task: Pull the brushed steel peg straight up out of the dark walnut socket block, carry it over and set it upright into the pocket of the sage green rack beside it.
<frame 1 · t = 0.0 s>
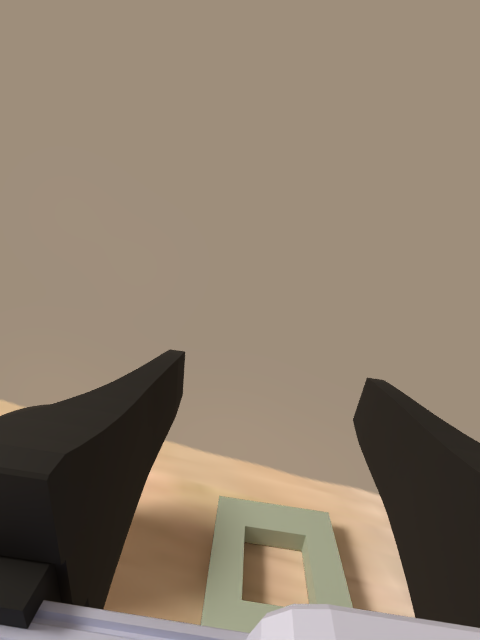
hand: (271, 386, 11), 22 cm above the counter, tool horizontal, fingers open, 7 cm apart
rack: (273, 581, 24), on the counter
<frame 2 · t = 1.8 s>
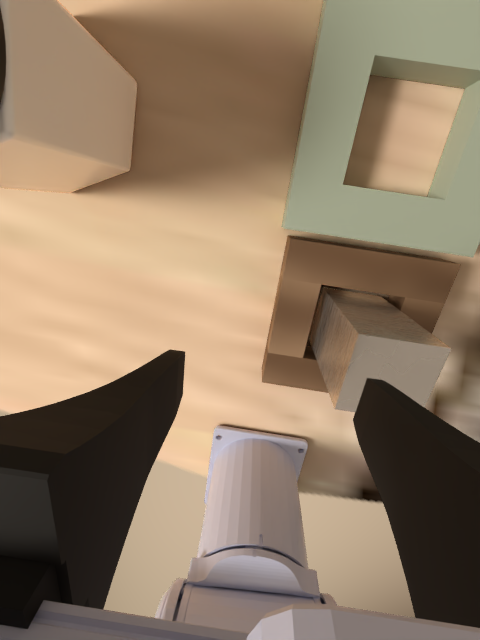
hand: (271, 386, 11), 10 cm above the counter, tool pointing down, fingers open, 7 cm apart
peg: (361, 342, 17), in the socket block
jar: (72, 114, 17), on the counter
socket block: (343, 318, 21), on the counter
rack: (395, 140, 16), on the counter
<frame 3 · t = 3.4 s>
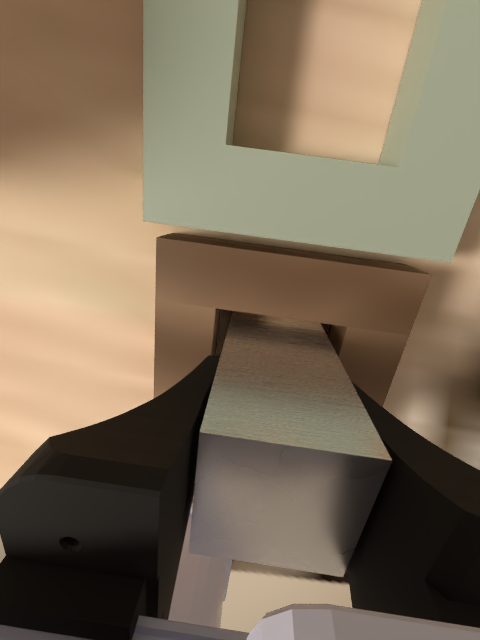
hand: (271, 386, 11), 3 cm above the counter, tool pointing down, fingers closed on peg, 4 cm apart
peg: (272, 403, 10), in the socket block, touching gripper
socket block: (269, 352, 14), on the counter
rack: (319, 75, 10), on the counter
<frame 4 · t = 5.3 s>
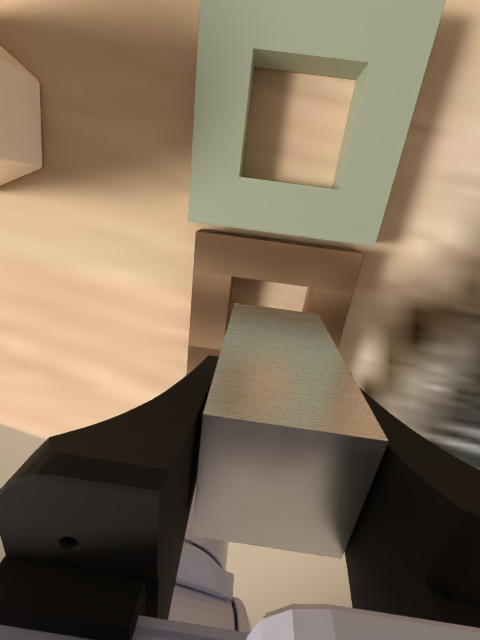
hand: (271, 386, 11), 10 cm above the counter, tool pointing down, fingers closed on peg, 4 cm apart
peg: (272, 394, 11), point 11 cm above the counter, touching gripper
socket block: (265, 310, 21), on the counter
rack: (295, 133, 17), on the counter
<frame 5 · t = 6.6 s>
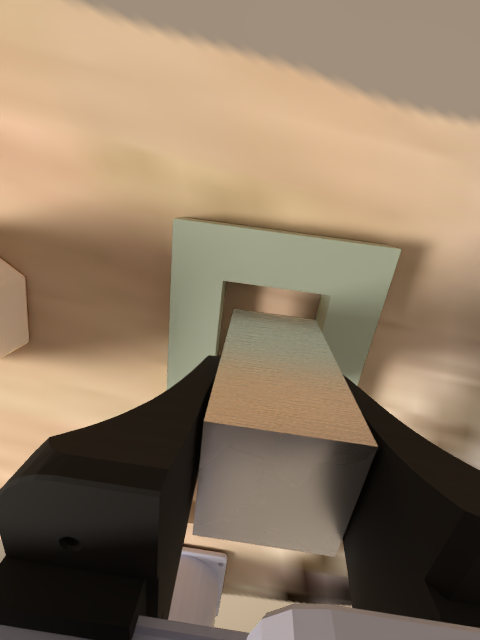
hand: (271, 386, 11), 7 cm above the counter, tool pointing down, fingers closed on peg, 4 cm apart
peg: (270, 398, 11), point 7 cm above the counter, touching gripper
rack: (267, 323, 18), on the counter
when the fingers open (4 cm above the counter, at t = 7.5 s): peg stays where it is, resting in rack.
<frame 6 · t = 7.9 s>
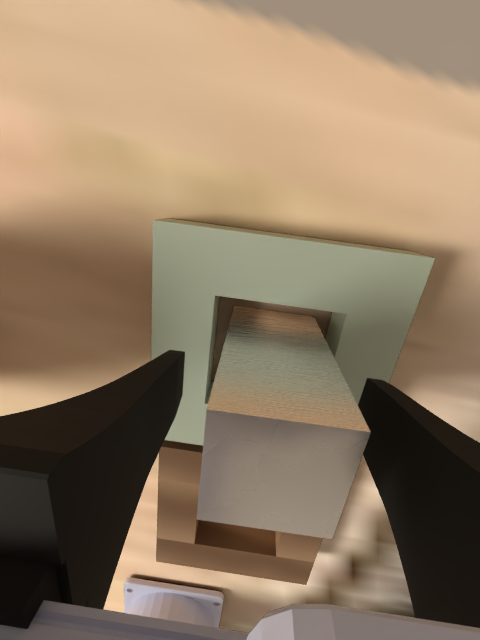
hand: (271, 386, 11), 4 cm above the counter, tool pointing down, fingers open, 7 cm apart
peg: (270, 391, 11), in the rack
socket block: (242, 491, 19), on the counter
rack: (268, 343, 15), on the counter
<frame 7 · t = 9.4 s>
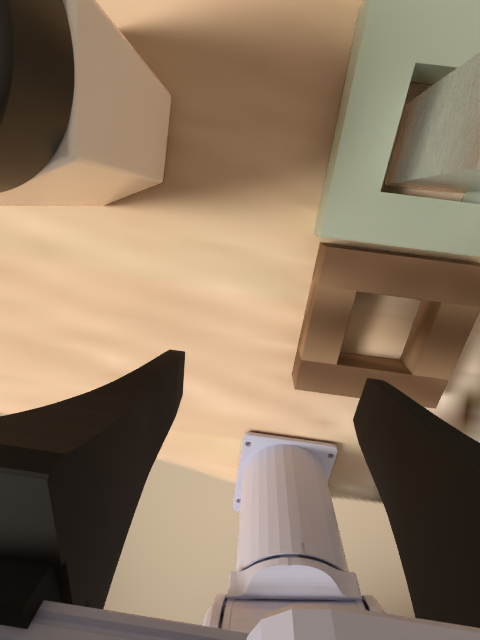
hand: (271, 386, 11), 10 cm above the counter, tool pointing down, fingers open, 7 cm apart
peg: (477, 134, 13), in the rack
jar: (105, 127, 17), on the counter
socket block: (374, 323, 20), on the counter
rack: (430, 146, 16), on the counter
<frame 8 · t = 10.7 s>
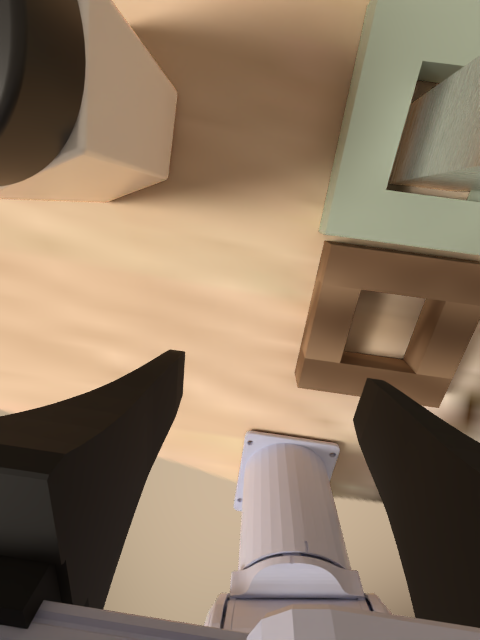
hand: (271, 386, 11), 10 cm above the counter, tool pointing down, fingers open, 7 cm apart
jar: (111, 124, 17), on the counter
socket block: (378, 322, 20), on the counter
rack: (436, 145, 16), on the counter
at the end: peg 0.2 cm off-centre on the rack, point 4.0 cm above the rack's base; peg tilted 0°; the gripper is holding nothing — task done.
